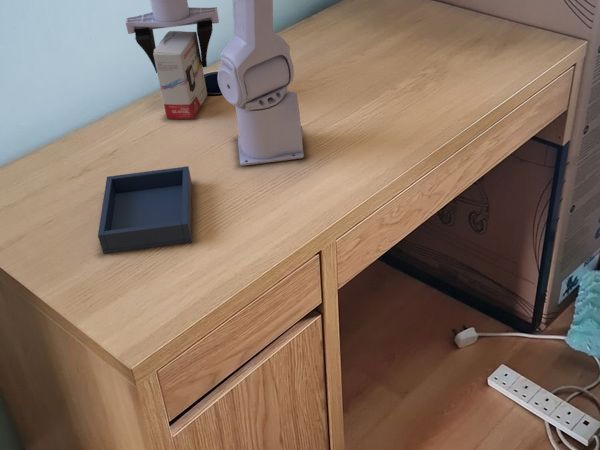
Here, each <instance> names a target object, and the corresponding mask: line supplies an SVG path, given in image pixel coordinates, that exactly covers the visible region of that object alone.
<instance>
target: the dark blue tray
mask: <svg viewBox="0 0 600 450" xmlns="http://www.w3.org/2000/svg"><path fill="white" fill-rule="evenodd" d="M102 199H103V200H102V205H101V211H100V217H99V218H100V219H99V225H98V231H97V239H98V240H99V245H100V248H101V250H102V254H104V255H105V254H111V253H119V252H127V251H135V250H142V249H149V248H151V249H152V248H159V247H166V246H174V245H182V244H187V243H192V242H193V182H192V177H191V172H190V167H189V166H181V167H180V166H179V167H172V168H165V169H155V170H149V171H140V172H132V173H124V174H118V175H117V174H116V175H110V176H106V181H105V186H104V193H103V198H102Z"/></svg>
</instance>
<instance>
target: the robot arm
mask: <svg viewBox="0 0 600 450" xmlns="http://www.w3.org/2000/svg"><path fill="white" fill-rule="evenodd" d="M149 1H150V7H151V12H147V13H143V14H140V15H136V16H130V17H126V18H125V26H126V31H127V34H128V35H131V34H134V35H135V36H134V37H135V38H134V39H135V41H136V43H137V45H139V47H140V48H141V49H142V50H143V52H144V53H145V54H146V55H147V57H148V59H149V61H150V62H151V64H152V66H153V69H154V71H155V73H156V74H157V69H156V64H155V60H154V55H153V53H154V49H155V48H156V47H157V45H156V40H155V36H154V30H159V29H166V28H168V29H169V28H176V27H183V26H192V25H196V33H197V39H198V44H199V50H200V56H201V62H202V67H203V68H207V66H208V62H207V56H208V55H207V54H208V49H209V44H210V40H211V37H212V34H213V30H214V29H213V25H215V24H219V22H220V21H219V20H220V19H219V13H218V7H216V6H213V7H194V6H193V7H190V6H189V3H188V0H149ZM232 18H233V19H232V20H233V36H232V37H231V39H230V40H229V41H228V43H227V44H226V45H225V47H224V48H223V49H222V51H221V52H220V56H219V57H220V65H219V67H218V70H217V85H218V87H219V90H220V93H221V94H222V96H223V98H224V99H225V100H226V101H227V102H228V103H229V104H230V105H232V106H234V109H235V110H234V111H235V116H236V122H237V129H238V137H237V144H238V146H237V147H238V157H239V164H240V166H242V167H243V166H250V165H251V166H252V165H261V164H267V163H274V162H275V163H276V162H283V161H284V162H285V161H290V160H298V159H304V158H305V154H304V147H303V146H304V143H303V138H304V130H303V126H302V124H301V123H302V122H301V114H300V113H301V112H300V105H299V100H298V94H297V92H296V91H288V86H290V85H291V84H292V83H293V81H294V77H295V76H294V75H295V69H294V63H293V61H292V57H291V46H290V45H289V43H288V42H287V41H286V39H284V38H283V36H281V35H279V34H278V33H276V32H274V0H232Z"/></svg>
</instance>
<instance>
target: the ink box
mask: <svg viewBox="0 0 600 450" xmlns="http://www.w3.org/2000/svg"><path fill="white" fill-rule="evenodd" d="M153 55H154V60H155V64H156V69H157V73H156V74H157V79H158V85H159V88H160V93H161V98H162V103H163V108H164V112H165V116H166V119H171V120H173V119H175V120H193V119H195V117H196V115H197V113H198V112H199V110H200V108H201V106H202V105H203V103H204V101H205V99H207V97H208V91H207V85H206V79H205V73H204V67H202V61H201V50H200V44H199V39H198V35H197V31H183V30H169V31H168V32H166V33H165V35H164V36H163V37H162V39H161V40H160V42H159V43H158V44H157V45H156V48H155V49H154V53H153Z"/></svg>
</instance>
